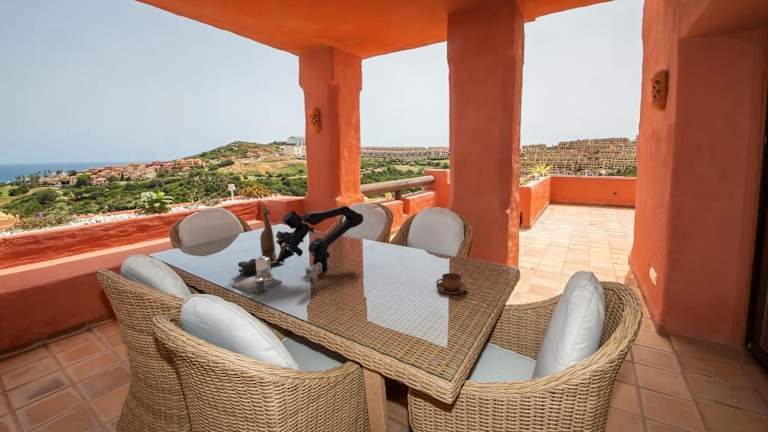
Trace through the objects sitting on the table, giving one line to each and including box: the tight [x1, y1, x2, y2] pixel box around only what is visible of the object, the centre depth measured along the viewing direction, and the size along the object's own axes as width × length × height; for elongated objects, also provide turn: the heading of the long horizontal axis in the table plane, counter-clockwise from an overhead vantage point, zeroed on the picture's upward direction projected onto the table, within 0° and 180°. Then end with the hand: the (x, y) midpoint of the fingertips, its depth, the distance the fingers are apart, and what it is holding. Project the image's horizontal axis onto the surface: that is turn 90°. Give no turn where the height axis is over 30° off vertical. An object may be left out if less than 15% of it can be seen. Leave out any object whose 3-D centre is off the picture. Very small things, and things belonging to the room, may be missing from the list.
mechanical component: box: [304, 263, 323, 290], centre depth 144 cm, size 3×10×10 cm, turn 161°
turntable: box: [231, 275, 283, 294], centre depth 152 cm, size 15×15×2 cm
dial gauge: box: [254, 277, 268, 296], centre depth 142 cm, size 4×4×6 cm
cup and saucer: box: [435, 272, 467, 295], centre depth 139 cm, size 12×12×6 cm
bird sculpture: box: [259, 203, 286, 264], centre depth 178 cm, size 11×12×32 cm
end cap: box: [237, 258, 257, 277], centre depth 166 cm, size 10×7×7 cm
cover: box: [255, 255, 275, 282], centre depth 153 cm, size 8×8×10 cm
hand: (277, 262), depth 156 cm, fingers closed
